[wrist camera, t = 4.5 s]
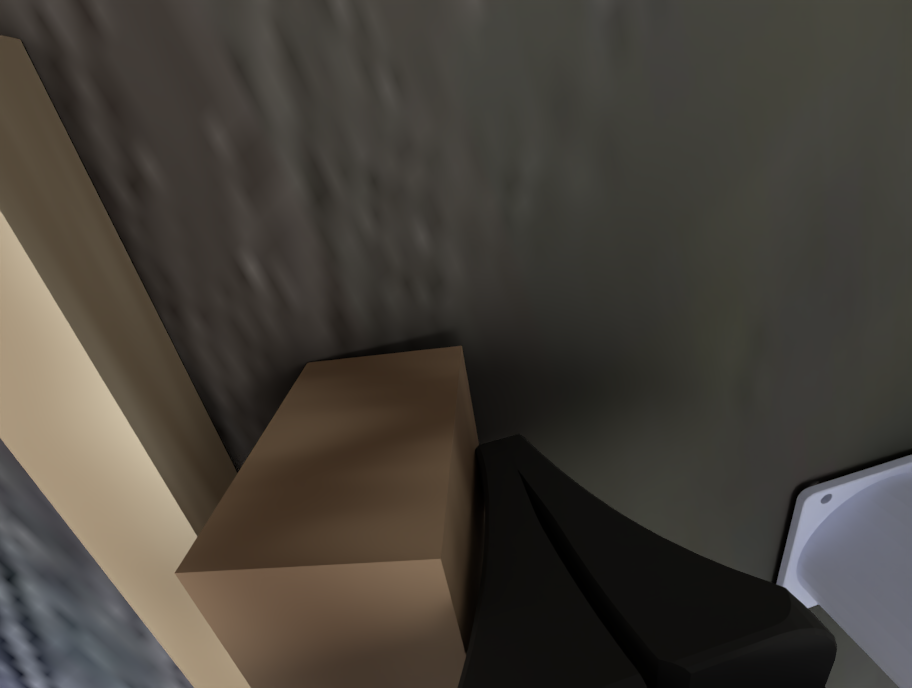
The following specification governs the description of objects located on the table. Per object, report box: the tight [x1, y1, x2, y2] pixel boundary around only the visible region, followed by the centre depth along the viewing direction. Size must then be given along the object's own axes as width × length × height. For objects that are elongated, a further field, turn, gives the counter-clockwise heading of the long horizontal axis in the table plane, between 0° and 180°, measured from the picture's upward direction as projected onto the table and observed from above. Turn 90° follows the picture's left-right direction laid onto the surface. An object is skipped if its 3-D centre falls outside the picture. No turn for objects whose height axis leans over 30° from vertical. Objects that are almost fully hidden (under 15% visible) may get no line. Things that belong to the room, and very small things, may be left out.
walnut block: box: [175, 346, 485, 688], centre depth 11 cm, size 4×7×6 cm, turn 9°
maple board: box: [0, 35, 251, 688], centre depth 12 cm, size 2×22×3 cm, turn 10°
